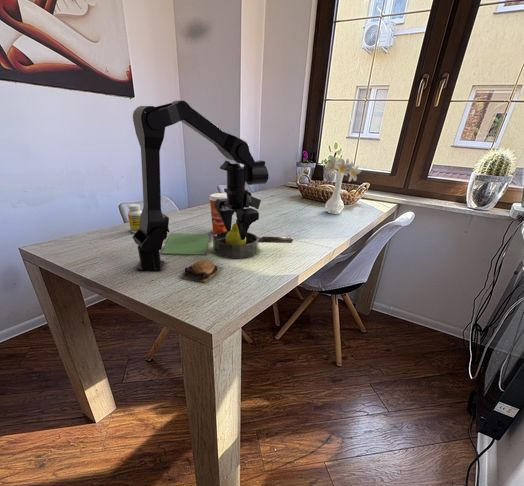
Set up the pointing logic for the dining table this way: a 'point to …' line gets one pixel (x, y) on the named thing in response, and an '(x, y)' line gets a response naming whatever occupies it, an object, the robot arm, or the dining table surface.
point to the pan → (235, 246)
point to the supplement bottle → (134, 217)
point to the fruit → (234, 236)
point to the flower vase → (339, 182)
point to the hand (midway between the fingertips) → (235, 235)
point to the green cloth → (186, 244)
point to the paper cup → (216, 213)
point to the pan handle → (274, 239)
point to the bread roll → (200, 271)
